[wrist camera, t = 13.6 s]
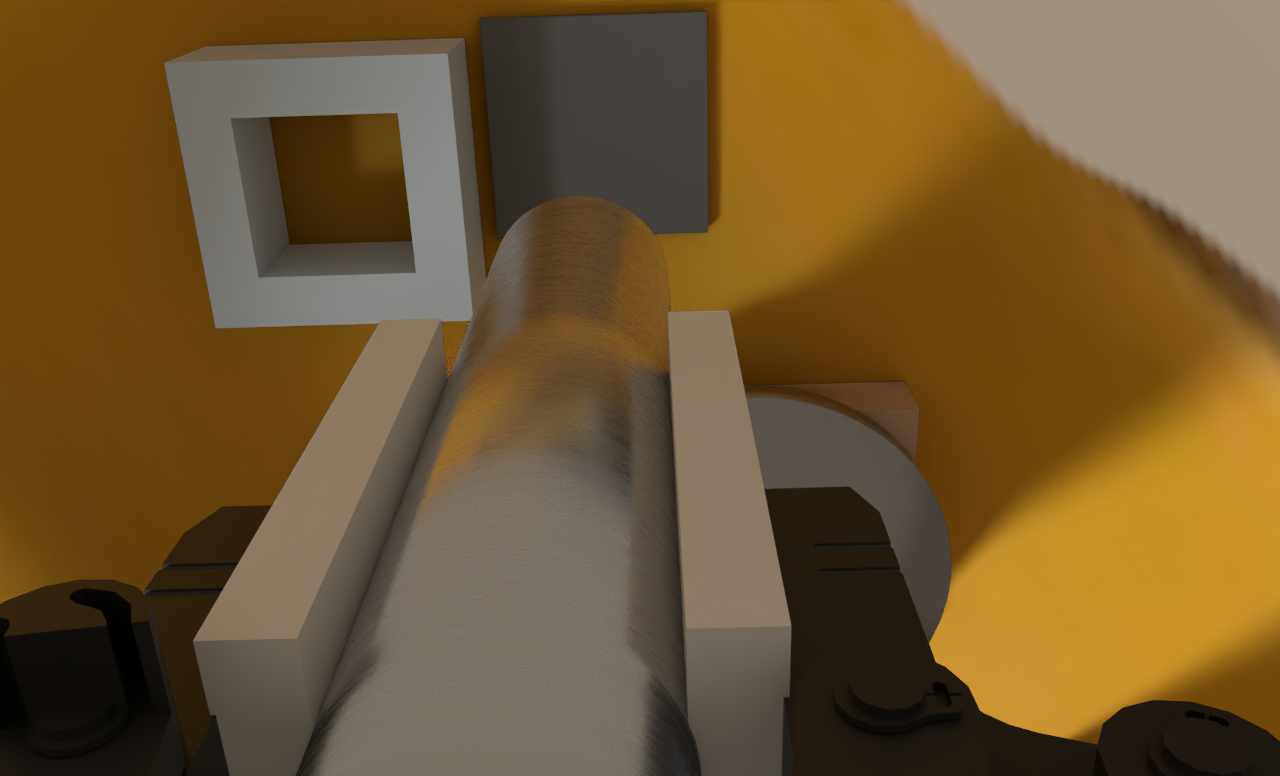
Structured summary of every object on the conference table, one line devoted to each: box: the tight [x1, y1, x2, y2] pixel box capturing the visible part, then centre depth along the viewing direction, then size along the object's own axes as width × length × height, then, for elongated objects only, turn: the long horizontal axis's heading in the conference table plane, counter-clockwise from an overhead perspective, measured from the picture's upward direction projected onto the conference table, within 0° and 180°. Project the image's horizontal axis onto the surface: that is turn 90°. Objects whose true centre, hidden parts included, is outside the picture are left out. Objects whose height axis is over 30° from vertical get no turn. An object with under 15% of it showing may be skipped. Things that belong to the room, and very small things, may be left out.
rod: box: [296, 196, 702, 776], centre depth 14 cm, size 3×3×13 cm
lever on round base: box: [744, 385, 951, 643], centre depth 29 cm, size 12×12×13 cm
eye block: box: [164, 38, 486, 328], centre depth 31 cm, size 7×7×3 cm
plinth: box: [759, 381, 920, 462], centre depth 36 cm, size 10×10×2 cm
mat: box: [480, 10, 708, 239], centre depth 32 cm, size 6×6×1 cm
